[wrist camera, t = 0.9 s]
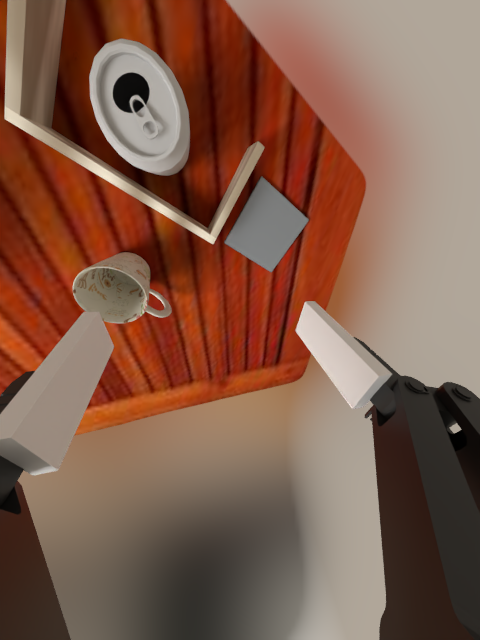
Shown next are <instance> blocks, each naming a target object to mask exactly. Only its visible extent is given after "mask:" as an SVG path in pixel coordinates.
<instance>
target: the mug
mask: <svg viewBox="0 0 480 640" xmlns="http://www.w3.org/2000/svg"><path fill="white" fill-rule="evenodd" d="M149 292H150V293H151V294H153V295H154V296H156V297H157V298H158V299H159V300H160V301H161V302H162V303H163V305H164V307H165V309H164V310H162V311H158V310H155V309H153V308H152V307H150V306H148V301H149ZM73 294H74V297H75V299H76V301H77V302H78V304H79V305H80V306H81V307H82V308H83V309H84V310H85V311H86V312H99V313H100V315H101V318H102V320H103V321H106V322H111V323H127V322H131V321H134V320H136V319H138V318H139V317H140V316H142V315H143V313H144V312H145V311H146V312H148V313H150V314H152V315H154V316H156V317H167V316H169V315H170V314H171V306H170V304H169V303H168V301H167V300H166V299H165V298H164V297H163V296H162V295H161V294H160V293H158V292H156V291H154V290H152V289H150V268H149V266H148V264H147V263H146V261H145V260H144V259H143V258H141V257H140V256H138V255H136V254H134V253H129V252H123V253H119V254H117V255H114V256H112V257H110V258H108V259H106V260H103V261H101V262H99V263H97V264H94V265H92V266H90V267H88V268H86V269H84V270H83V271H81V272H80V273H79V274H78V275H77V277H76V278H75V280H74V283H73Z"/></svg>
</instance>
